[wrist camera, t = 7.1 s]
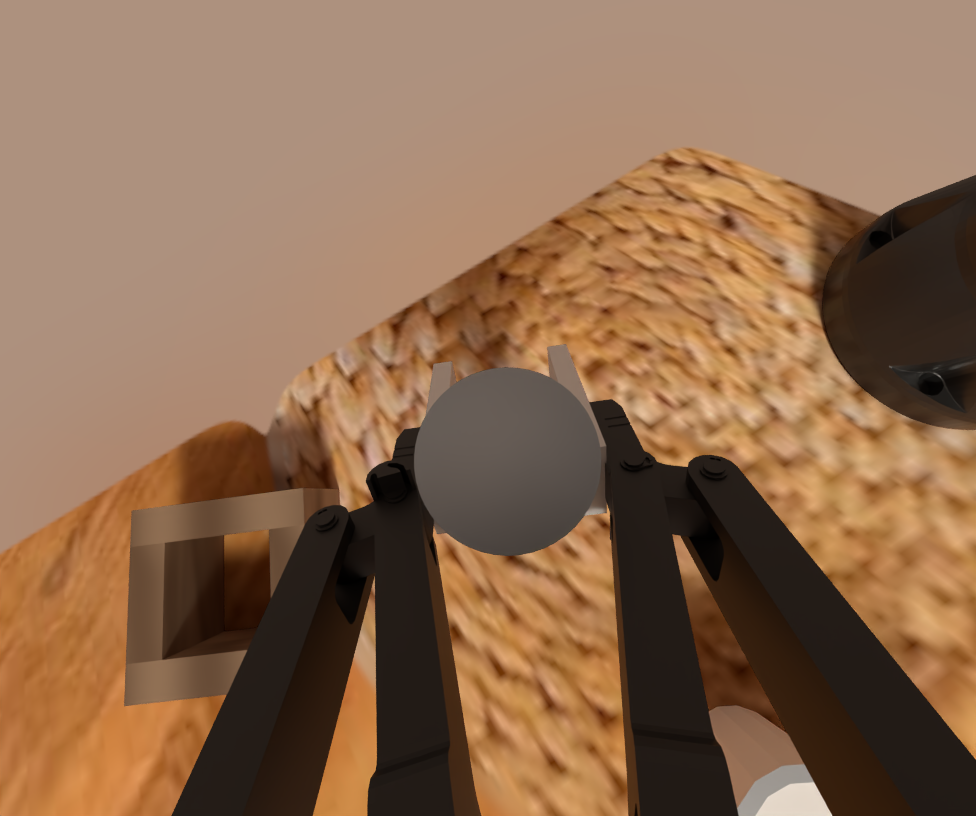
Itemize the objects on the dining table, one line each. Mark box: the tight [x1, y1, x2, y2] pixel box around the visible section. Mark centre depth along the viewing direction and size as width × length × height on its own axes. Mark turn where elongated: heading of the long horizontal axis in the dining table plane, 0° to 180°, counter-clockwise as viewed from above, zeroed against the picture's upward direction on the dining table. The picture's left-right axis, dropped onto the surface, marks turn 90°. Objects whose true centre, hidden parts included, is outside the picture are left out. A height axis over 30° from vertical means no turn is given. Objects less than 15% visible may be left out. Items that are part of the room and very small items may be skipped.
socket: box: [124, 488, 340, 706], centre depth 26 cm, size 10×10×5 cm
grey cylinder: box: [414, 367, 601, 556], centre depth 15 cm, size 4×4×12 cm
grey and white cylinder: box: [709, 705, 832, 816], centre depth 21 cm, size 7×7×7 cm
